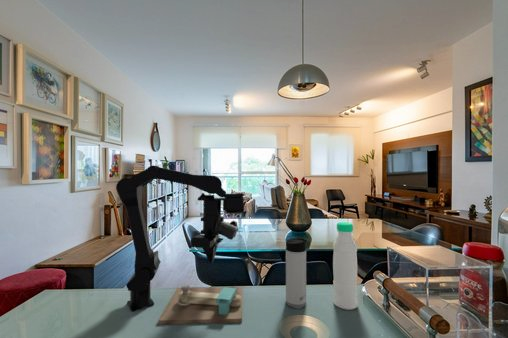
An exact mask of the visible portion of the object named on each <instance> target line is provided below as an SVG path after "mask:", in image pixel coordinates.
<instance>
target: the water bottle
mask: <svg viewBox="0 0 508 338" xmlns="http://www.w3.org/2000/svg"><path fill="white" fill-rule="evenodd" d="M336 230H337V235H336V238H335V240H334V241H333V245H332V248H333V255H332V270H333V271H332V273H333V282H332V286H333V294H332V296H333V297H332V300H333V303H334V305H335V306H336V307H338V308H340V309H342V310H347V311H348V310H349V311H350V310H354V309H356V308H357V307H358V304H359V303H358V301H359V299H358V283H357V281H358V257H357V256H358V255H357V252H358V246H357V244H356V242H355V239H354V238H353V236H352V234H353V230H354V225H353V224H352V223H351V222H343V221H342V222H341V221H340V222H337V223H336Z"/></svg>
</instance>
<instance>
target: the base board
mask: <svg viewBox="0 0 508 338" xmlns="http://www.w3.org/2000/svg"><path fill="white" fill-rule="evenodd" d="M208 287H209V288H203V287H202V286H201V287H199V286H198V287H195V286H194V287H189V289H188V291H191V292H204V293H220V292H221V291H222V289H223V288H224V287H226V288H236V294H235V295H240V296H241V305H240V306H238V307H234V306H230V310H229V312H228V314H227V315H223V314H219V305H207V304H194V303H191V304H189V305H185V306H182V305H179V304H178V301H179V293H180V292H182V291H183V290H182V289H181V287H177V288H176V289H175V291H174V292H173V294H172V296H171V298H170V299H169V301H168V303H167V305H166V306H165V308H164V309H163V311H162V313H161V314H160V317H159V318H158V321H157V322H158V325H176V324H177V325H179V324H180V325H183V324H187V325H189V324H220V323H221V324H223V323H225V324H227V323H229V324H230V323H243V299H244V298H243V292H244V288H243V286H208Z"/></svg>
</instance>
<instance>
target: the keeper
mask: <svg viewBox="0 0 508 338" xmlns="http://www.w3.org/2000/svg"><path fill="white" fill-rule="evenodd" d="M223 287H224V288H223V289H222V291H221V292H220V293H219V295H218V296H217V298H216V303H219V314H223V315H227V314H228V312H229V310H230V303H231V301H232V299H233V297H234V296H235V294H236V288H226V287H227V286H223ZM178 304H179V305H182V306H185V305H189V304H191V303H185V304H182V303H179V301H178Z"/></svg>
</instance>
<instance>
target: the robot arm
mask: <svg viewBox="0 0 508 338" xmlns="http://www.w3.org/2000/svg"><path fill="white" fill-rule="evenodd" d="M157 179H158V180H162V181H166V182H170V183H171V182H172V183H177V184H181V185H186V186H190V187H193V188H195V189H198V190H200V191H202V193H201V194H200V195H199V196H198V197H197V201H198V202H199V201H200V202H201V201H203V205H202V210H203V211H202V212H203V213H202V217H200V222H202V230H200V234H196V235H195V236H193V237H192V238H191V239H190V240H189V242H190V247H191V248H199V249H203V252H204V254H205V256H206V258H207V261H208V262H209V263H211V264H212V263H213V262H214V260H215V256H216V253H217V251H218V250H217V249H218V247H219V244H220V243H221V242H222V241H223V240H224V238H222V237H220V235H221V236H223V237H225V238H227V239H229V240H233V239H234V238H236V236H237V233H238V232H239V226H238V221H235V220H232V221H231V222H228V221H224V219H225V218H224V216H222V211H223V212H225V214H227V215H230V214H231V215H232V214H233V215H234V214H235V215H236V214H237V215H238V214H241V215H243V214H244V213H245V203H244V201H245V200H244V193H242V192H238V193H227V191H226V190H224V189H223V185H222V180H221V179H220V178H219V177H218V176H216V175H207V174H206V175H205V174H193V173H188V172H183V171H178V170H174V169H169V168H165V167H161V166H159V165H149V167H147V168H146V169H144V170H142V171H140V172H138V173H136V174H134V175H132V176H131V177H124V178H123V177H122V178H121V179H119V181H118V182H117V183H116V185H115V187H116V188H115V190H116V192H117V195H118V197H119V199H120V201H121V202H122V205H123V206H124V207H125V210H126V213H127V218H128V223H129V228H130V233H131V236H132V242H133V246H134V247H133V248H134V251H135V258H134V259H135V260H134V273H133V274H132V276H131V277H130V279H129V280H128V281H127V283H126V285H125V286H126V288H127V291H128V292H130V293H129V297H130V298H129V299H130V300H127V302H126V304H127V306H128V308H129V310H130V312H136V311H139V310H141V309H145V308H148V307H151V306H154V305H155V302H154V301H153V299H152V298H151V281H153V279H154V278H155V276H156V274H157V272H158V270H159V267H160V265H161V259H160V257H159V250H156V251H154V250H153V249H152V248H151V244H150V243H151V242H150V238H149V234H148V230H147V225H146V220H145V216H144V210H143V206H142V204H143V203H142V201H143V195H144V194H143V187H145V186H147V185H148V184H149V183H152V181H154V180H157ZM205 193H207V194H205ZM215 195H217V196H218V197H215Z"/></svg>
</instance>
